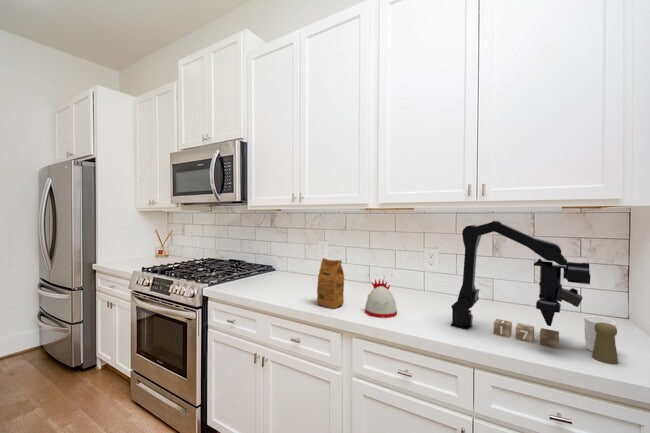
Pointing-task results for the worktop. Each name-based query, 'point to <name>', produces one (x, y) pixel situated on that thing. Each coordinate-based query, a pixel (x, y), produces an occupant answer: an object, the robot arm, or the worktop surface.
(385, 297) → the grey dome
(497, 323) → the block one
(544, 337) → the plain block
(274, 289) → the worktop surface
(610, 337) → the cork
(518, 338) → the tan marked cube block
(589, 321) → the white cup
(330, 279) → the coffee package
